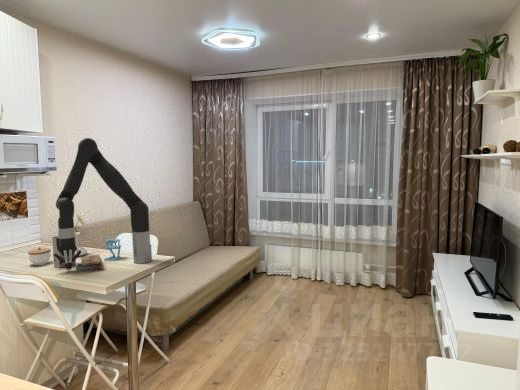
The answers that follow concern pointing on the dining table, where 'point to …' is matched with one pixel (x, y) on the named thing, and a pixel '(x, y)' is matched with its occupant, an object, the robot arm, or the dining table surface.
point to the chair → (113, 248)
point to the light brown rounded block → (92, 261)
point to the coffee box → (55, 248)
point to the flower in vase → (83, 250)
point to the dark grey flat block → (85, 267)
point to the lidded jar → (40, 256)
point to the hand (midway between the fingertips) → (68, 269)
